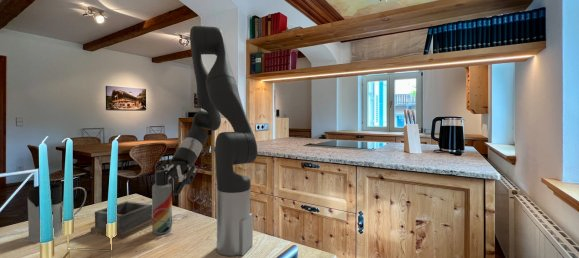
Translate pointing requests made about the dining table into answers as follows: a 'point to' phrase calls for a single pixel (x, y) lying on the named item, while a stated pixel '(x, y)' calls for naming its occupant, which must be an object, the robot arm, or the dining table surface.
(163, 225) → the lotion bottle
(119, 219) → the dark grey open box
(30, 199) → the grey mug
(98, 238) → the dining table surface
